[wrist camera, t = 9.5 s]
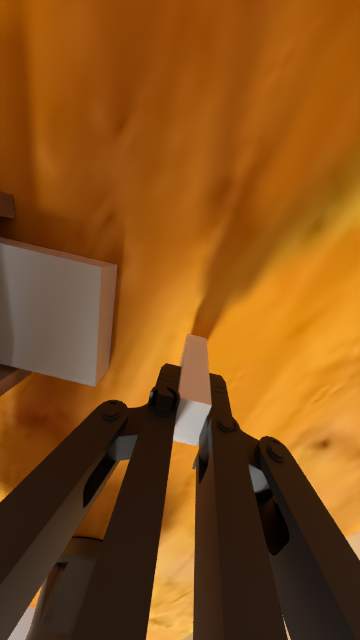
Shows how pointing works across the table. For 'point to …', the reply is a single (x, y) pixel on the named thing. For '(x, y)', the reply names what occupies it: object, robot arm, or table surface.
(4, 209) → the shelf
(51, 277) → the tile
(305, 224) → the table surface
